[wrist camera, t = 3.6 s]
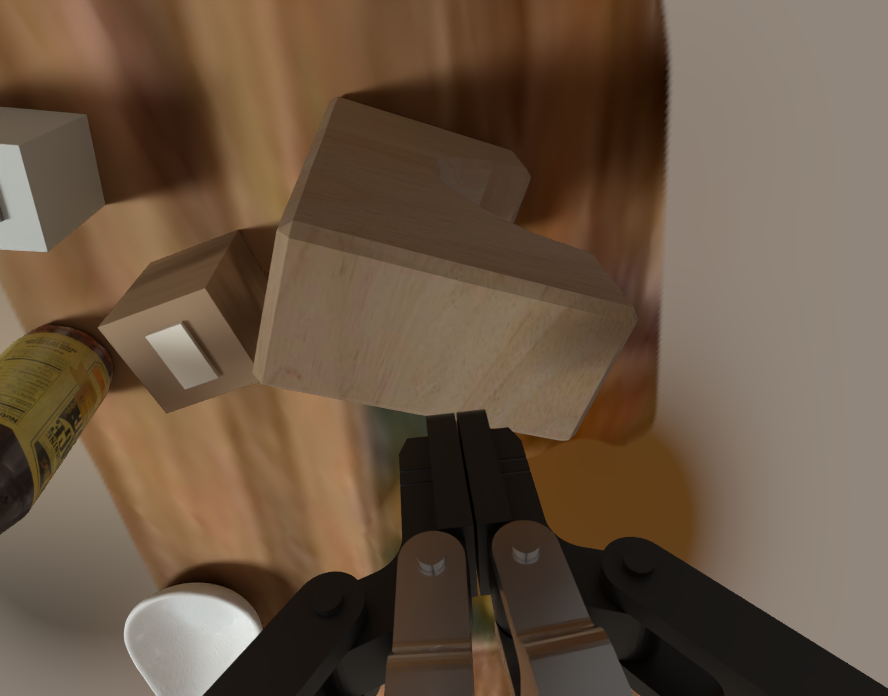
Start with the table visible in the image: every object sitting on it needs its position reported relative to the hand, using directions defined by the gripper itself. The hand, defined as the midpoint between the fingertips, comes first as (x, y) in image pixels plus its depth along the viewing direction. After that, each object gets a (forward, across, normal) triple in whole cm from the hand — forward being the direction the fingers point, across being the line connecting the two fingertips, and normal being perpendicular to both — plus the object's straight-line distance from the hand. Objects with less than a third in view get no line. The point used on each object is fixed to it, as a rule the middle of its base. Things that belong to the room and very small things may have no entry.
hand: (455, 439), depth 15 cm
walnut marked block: (+24, +13, +6) cm, 28 cm away
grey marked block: (+24, +21, -3) cm, 32 cm away
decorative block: (+24, 0, 0) cm, 24 cm away
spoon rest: (+24, +24, +44) cm, 55 cm away
